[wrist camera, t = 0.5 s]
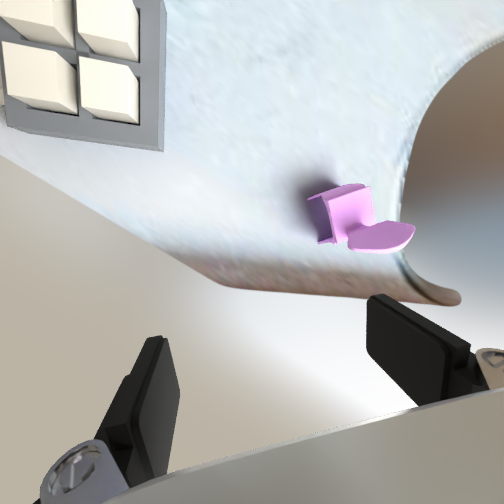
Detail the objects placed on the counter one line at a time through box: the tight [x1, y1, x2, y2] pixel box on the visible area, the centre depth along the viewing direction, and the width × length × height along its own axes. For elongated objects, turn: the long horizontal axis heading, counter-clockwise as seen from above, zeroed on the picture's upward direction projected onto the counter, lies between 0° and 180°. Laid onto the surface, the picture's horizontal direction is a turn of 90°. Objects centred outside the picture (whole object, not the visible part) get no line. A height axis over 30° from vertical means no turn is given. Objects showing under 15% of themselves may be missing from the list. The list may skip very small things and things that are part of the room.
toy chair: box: [308, 184, 415, 253], centre depth 33 cm, size 8×9×15 cm
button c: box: [0, 0, 76, 50], centre depth 25 cm, size 5×5×4 cm
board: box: [0, 0, 167, 152], centre depth 28 cm, size 17×24×4 cm
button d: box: [2, 41, 79, 115], centre depth 26 cm, size 5×5×4 cm
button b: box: [79, 56, 139, 124], centre depth 27 cm, size 5×5×4 cm
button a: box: [76, 0, 139, 63], centre depth 26 cm, size 5×5×4 cm
